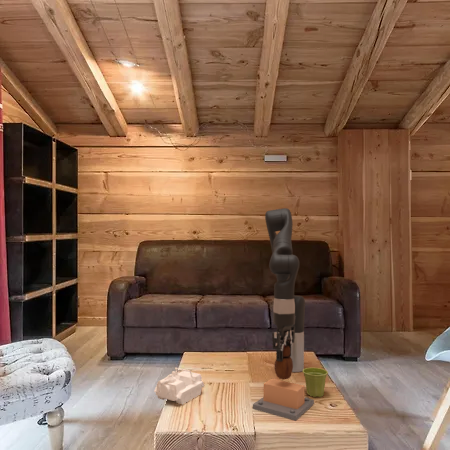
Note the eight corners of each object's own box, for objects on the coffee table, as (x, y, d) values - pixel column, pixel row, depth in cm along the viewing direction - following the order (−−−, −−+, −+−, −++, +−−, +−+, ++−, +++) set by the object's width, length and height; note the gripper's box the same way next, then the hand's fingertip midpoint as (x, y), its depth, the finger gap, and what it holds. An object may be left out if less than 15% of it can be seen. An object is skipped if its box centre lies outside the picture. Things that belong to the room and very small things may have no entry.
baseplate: (273, 394, 150) (273, 388, 151) (313, 404, 142) (313, 397, 142) (252, 408, 137) (252, 401, 137) (295, 420, 128) (295, 413, 128)
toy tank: (205, 393, 151) (205, 367, 152) (172, 412, 134) (172, 382, 134) (180, 387, 157) (181, 362, 158) (145, 404, 140) (146, 376, 141)
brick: (271, 394, 146) (271, 378, 146) (304, 403, 139) (304, 385, 139) (263, 400, 140) (263, 383, 141) (297, 409, 133) (297, 391, 134)
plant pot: (297, 394, 150) (298, 371, 151) (309, 387, 157) (309, 365, 158) (320, 401, 144) (320, 377, 144) (332, 394, 151) (332, 370, 152)
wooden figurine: (287, 382, 136) (287, 338, 136) (272, 379, 139) (272, 335, 139) (295, 376, 141) (295, 334, 142) (280, 373, 144) (280, 332, 145)
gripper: (283, 307, 149) (282, 352, 148) (265, 312, 137) (264, 361, 136) (302, 309, 145) (301, 355, 144) (285, 315, 133) (284, 365, 132)
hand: (283, 358), depth 140 cm, fingers closed on wooden figurine, 6 cm apart
